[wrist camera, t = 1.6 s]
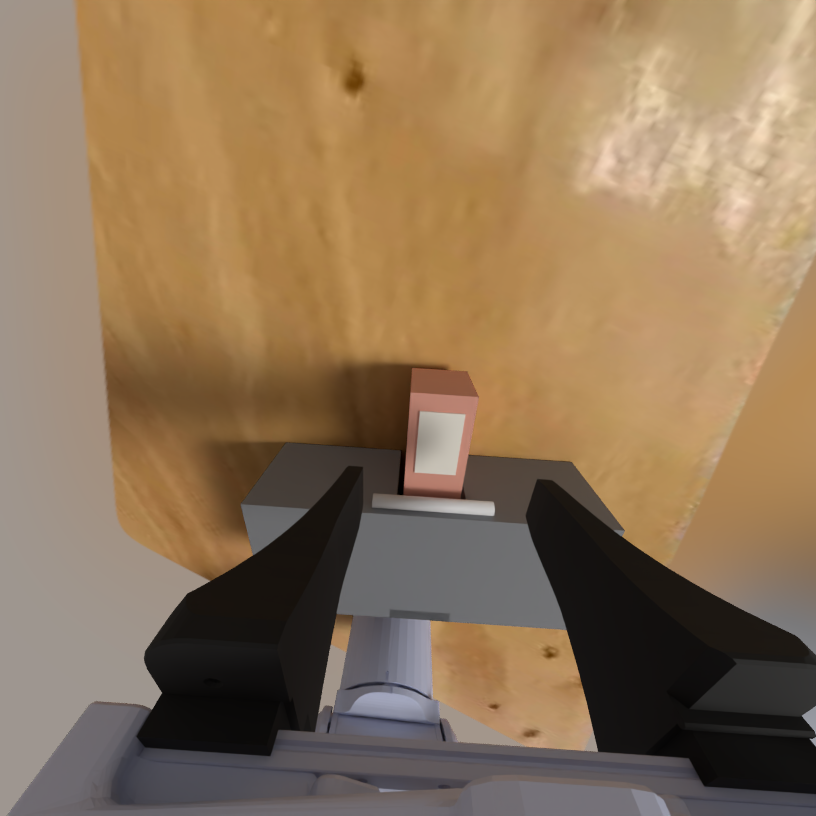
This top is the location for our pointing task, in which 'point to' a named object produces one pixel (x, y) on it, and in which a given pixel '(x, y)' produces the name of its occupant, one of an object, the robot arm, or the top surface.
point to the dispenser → (427, 535)
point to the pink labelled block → (439, 432)
